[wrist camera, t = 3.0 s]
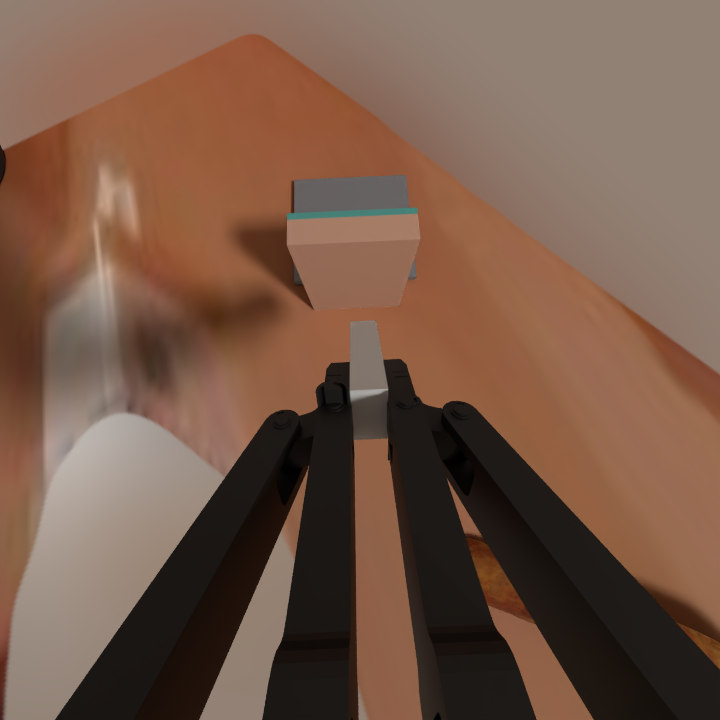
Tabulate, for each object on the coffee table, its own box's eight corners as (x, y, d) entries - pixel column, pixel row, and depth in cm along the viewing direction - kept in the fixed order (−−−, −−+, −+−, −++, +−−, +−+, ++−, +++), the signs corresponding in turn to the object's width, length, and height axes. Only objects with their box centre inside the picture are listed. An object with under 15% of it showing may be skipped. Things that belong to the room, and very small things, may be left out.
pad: (295, 284, 30) (293, 281, 29) (295, 184, 33) (294, 180, 32) (415, 278, 30) (416, 276, 30) (405, 179, 33) (405, 174, 32)
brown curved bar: (431, 586, 24) (508, 594, 16) (462, 501, 29) (531, 477, 22) (849, 945, 18) (1267, 1213, 11) (796, 761, 24) (1052, 853, 16)
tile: (314, 310, 29) (286, 245, 19) (313, 288, 30) (287, 213, 19) (399, 306, 29) (420, 239, 19) (397, 284, 30) (416, 207, 19)
